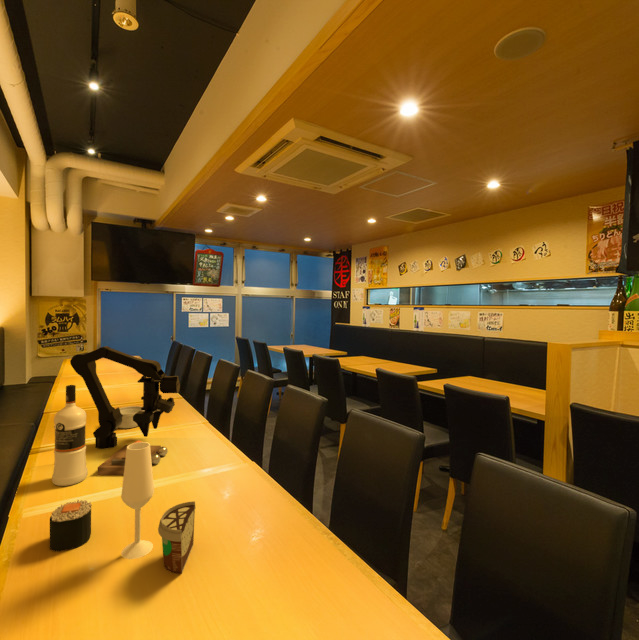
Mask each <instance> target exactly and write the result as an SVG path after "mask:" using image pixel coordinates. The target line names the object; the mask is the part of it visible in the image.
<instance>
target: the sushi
mask: <svg viewBox="0 0 639 640" xmlns="http://www.w3.org/2000/svg"><path fill="white" fill-rule="evenodd" d="M92 506H93V504H92V502H91V501H89V502H88V500H87V499H86V500H85V499H84V500H79V499H76V501H75V500H74V501H69V502H66V503H64V504H61V505H60V506H57V508H55V510H53V511H52V512H51V514H50V517H49V550H50V551H52V552H64V551H68V550H69V551H70V550H73V549H77V548H79V547H81V546H83V545H86V543H88V542H89V540H90V538H91V535H92Z"/></svg>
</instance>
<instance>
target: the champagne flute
mask: <svg viewBox="0 0 639 640" xmlns="http://www.w3.org/2000/svg"><path fill="white" fill-rule="evenodd" d="M150 445H151V444H150V442H148V441H142V442H137V443H134V442H133V443H130V444H128V446H127V450H126V459H125V468H124V475H123V478H122V488H121V496H120V497H121V500H122V502H123V503H124V504H125V505H126V506H128V507H130V509H133V510H134V541H133V542H131V543H129V544H127V545H126V546H125V547H124V548H123V549H122V550H121V552H120V555H121V557H122V558H124V559H127V560H134V559H140V558H142V557H145V556H146V555H148V554H149V553H150V552H151V551H152V550H153V547H154V544H153V542H151V541H150V540H144V539H141V527H142V526H141V525H142V524H141V519H142V518H141V513H142V512H141V511H142V508H143V507H145V505H146V504H147V503H149V502H150V500H151V499H152V498H153V495H154V494H155V486H154V485H155V484H154V475H153V464H152V461H151V450H150Z"/></svg>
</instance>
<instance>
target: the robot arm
mask: <svg viewBox="0 0 639 640" xmlns="http://www.w3.org/2000/svg"><path fill="white" fill-rule="evenodd" d="M103 358H104V359H106V360H109V361H111V362H115V363H118V364H120V365H123V366H126V367H128V368H131V369H133V370H135V371H136V372H137V373H138V374H140V375H142V376H141V377H140V378H139V380H137V383H142V386H143V387H142V389H143V390H142V391H143V392H142V393H143V395H142V396H141V399H140V400H142V401H143V402H142V406H141V410H145V411H139V412H137V413H136V414H135V415H134V416H133V421H135V423H137V425H138V426H137V427H139V429H140V432H141V433H142V435H143V437H146V438H147V437H148V435H149V429H150V424H151V425H152V427H153V429H155V430H156V429H157V428H158V427H159V423H160V420H161V416H162V415H163V413H165V414H170V413H171V412H172V411H173V408H174V407H175V403H176V402H175V399H174V398H173V397H169V398H167V399H166V398H162V394H179V392H180V388H181V383H180V380H179V375H171V376H170V375H169V376H168V375H167V374H166V373H165V371H164V370H163V369H162V366H161V363H160V362H159V361H157V360H154V359H149V358H140V357H136V356H134V355H131V354H128V353H125V352H123V351H120V350H117V349H115V348H112V347H110V346H109V345H106V346H101V347H99V348H98V349H97V348H96V349H94V350H93V351H90V352H82V353H77V354H74V355H73V356H72V357H71V359H70V361H69V362H70V364H69V365H70V366H71V367H72V369H73V370H74V372H75V373H76V374H78V376H80V377H81V378H82V379H83V381H84V384H85V386H86V389H87V390H88V392H89V395H90V396H91V399H92V402H94V405H95V407H96V409H97V412H98V414H97V416H98V417H97V419H98V424H99V427H97V428H96V429H95V430H94V431H93V432H92V434H93V438H94V439H95V440H94V441H95V442H94V443H95V448H96V449H99V450H106V449H114V448H115V447H117V446H118V437H117V432H116V431H117V430H118V427H119V426H120V425H121V423H122V417H123V415H122V414H121V412H120V409H119V408H120V407H116V408H115V407H113V405H111V402H110V399H109V398H108V396H107V393H106V392H105V389H104V387H103V385H102V383H101V380H100V378H99V376H98V374H97V363H96V361H98V360H101V359H103ZM160 392H161V393H162V394H160Z"/></svg>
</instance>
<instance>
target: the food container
mask: <svg viewBox="0 0 639 640" xmlns="http://www.w3.org/2000/svg"><path fill="white" fill-rule="evenodd" d="M195 513H196V501H186V502H182V503H178V504H176V505H174V506H172V507H170V508H168V509H167V510H166V511H165V512H163V514H162V515H161V518H160V520H159V525H158V526H157V527H158V528H157V533H158V535H160V537H161V545H162V557H163V558H162V559H163V567H164V569H165V570H166V571H168V572H170V573H173V574H175V575H176V574H177V575H180V574H181V575H182V574H183V572H184V570H185V567H186V565H187V563H188V560H189V557H190V554H191V552H192V550H193V547H194V540H195V539H194V538H195V537H194V535H195V516H196V514H195Z"/></svg>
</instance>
